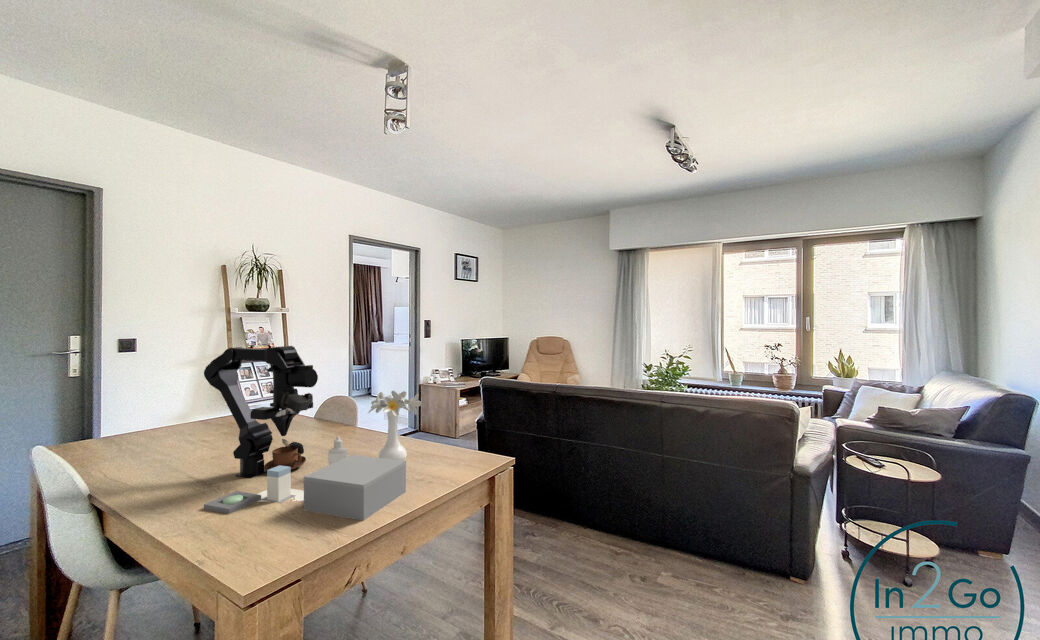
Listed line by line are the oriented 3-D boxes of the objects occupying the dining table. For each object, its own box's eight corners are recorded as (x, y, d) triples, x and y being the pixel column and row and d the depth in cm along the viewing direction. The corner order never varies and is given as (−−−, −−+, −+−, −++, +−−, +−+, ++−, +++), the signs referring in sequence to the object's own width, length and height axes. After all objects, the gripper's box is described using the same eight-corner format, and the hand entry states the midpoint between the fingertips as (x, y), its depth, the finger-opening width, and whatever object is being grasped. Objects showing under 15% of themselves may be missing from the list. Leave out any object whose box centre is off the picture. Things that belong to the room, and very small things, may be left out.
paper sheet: (236, 503, 114) (236, 502, 114) (274, 487, 126) (274, 485, 126) (283, 512, 109) (283, 510, 109) (318, 493, 121) (318, 492, 121)
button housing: (203, 510, 110) (203, 504, 110) (236, 496, 119) (236, 490, 119) (229, 515, 108) (229, 509, 108) (261, 500, 116) (261, 495, 116)
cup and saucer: (311, 460, 148) (310, 442, 147) (297, 474, 136) (296, 455, 135) (275, 462, 146) (274, 444, 146) (257, 476, 134) (256, 457, 134)
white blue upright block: (267, 499, 116) (267, 470, 116) (279, 493, 120) (279, 465, 120) (278, 501, 115) (278, 471, 115) (290, 495, 119) (290, 466, 119)
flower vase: (426, 460, 150) (426, 389, 150) (384, 476, 134) (384, 397, 134) (401, 453, 157) (401, 385, 157) (358, 468, 141) (358, 393, 141)
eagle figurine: (276, 467, 142) (275, 441, 142) (290, 459, 149) (289, 434, 149) (298, 468, 142) (297, 441, 141) (310, 460, 149) (309, 434, 148)
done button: (219, 506, 112) (219, 500, 112) (234, 499, 116) (234, 494, 116) (231, 509, 110) (231, 502, 110) (247, 502, 115) (247, 496, 115)
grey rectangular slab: (303, 511, 110) (303, 476, 109) (352, 485, 127) (352, 454, 127) (363, 522, 104) (363, 485, 104) (405, 492, 121) (405, 461, 121)
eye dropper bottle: (338, 477, 133) (338, 439, 133) (326, 474, 136) (326, 436, 136) (349, 472, 137) (349, 435, 137) (338, 469, 140) (338, 433, 140)
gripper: (278, 392, 122) (278, 446, 122) (326, 383, 140) (326, 430, 140) (249, 390, 125) (249, 443, 125) (299, 381, 143) (299, 427, 143)
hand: (283, 435), depth 133 cm, fingers closed
